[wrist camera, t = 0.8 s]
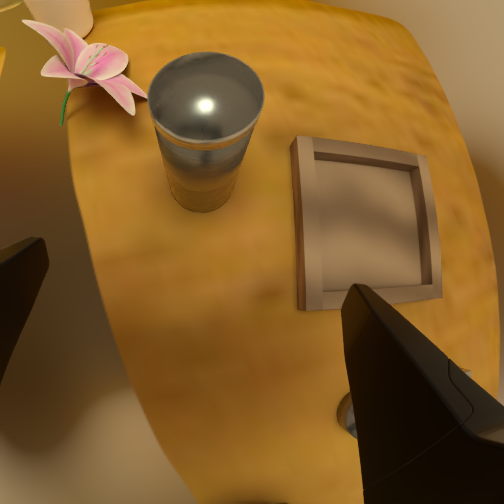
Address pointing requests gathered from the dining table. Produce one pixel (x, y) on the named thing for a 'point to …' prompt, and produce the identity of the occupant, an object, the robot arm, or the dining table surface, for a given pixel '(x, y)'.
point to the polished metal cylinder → (204, 124)
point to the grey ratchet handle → (347, 414)
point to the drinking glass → (63, 14)
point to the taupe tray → (363, 223)
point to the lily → (87, 65)
